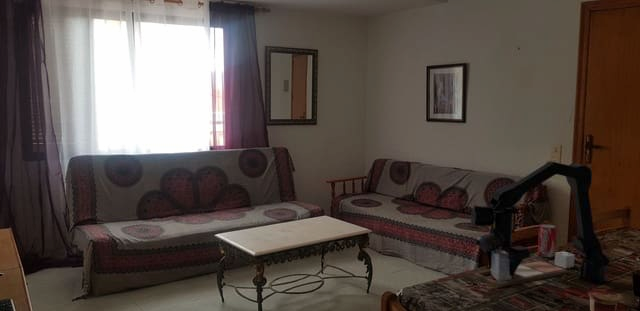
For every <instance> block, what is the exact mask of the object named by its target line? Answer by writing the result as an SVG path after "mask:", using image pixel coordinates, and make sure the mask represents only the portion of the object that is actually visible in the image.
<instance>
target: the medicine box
mask: <svg viewBox="0 0 640 311" xmlns="http://www.w3.org/2000/svg"><path fill="white" fill-rule="evenodd" d="M507 257H509V255H508V252H507V251H505V250H503V249H500V250H499V249H496V250H494V251H492V252H491V267H490V269H491V274H490V275H491V276H492V277H493V278H494V279H495V281H497V282H500V281H505V280H510V279H512V276H510V260H509V259H508V258H507Z"/></svg>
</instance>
